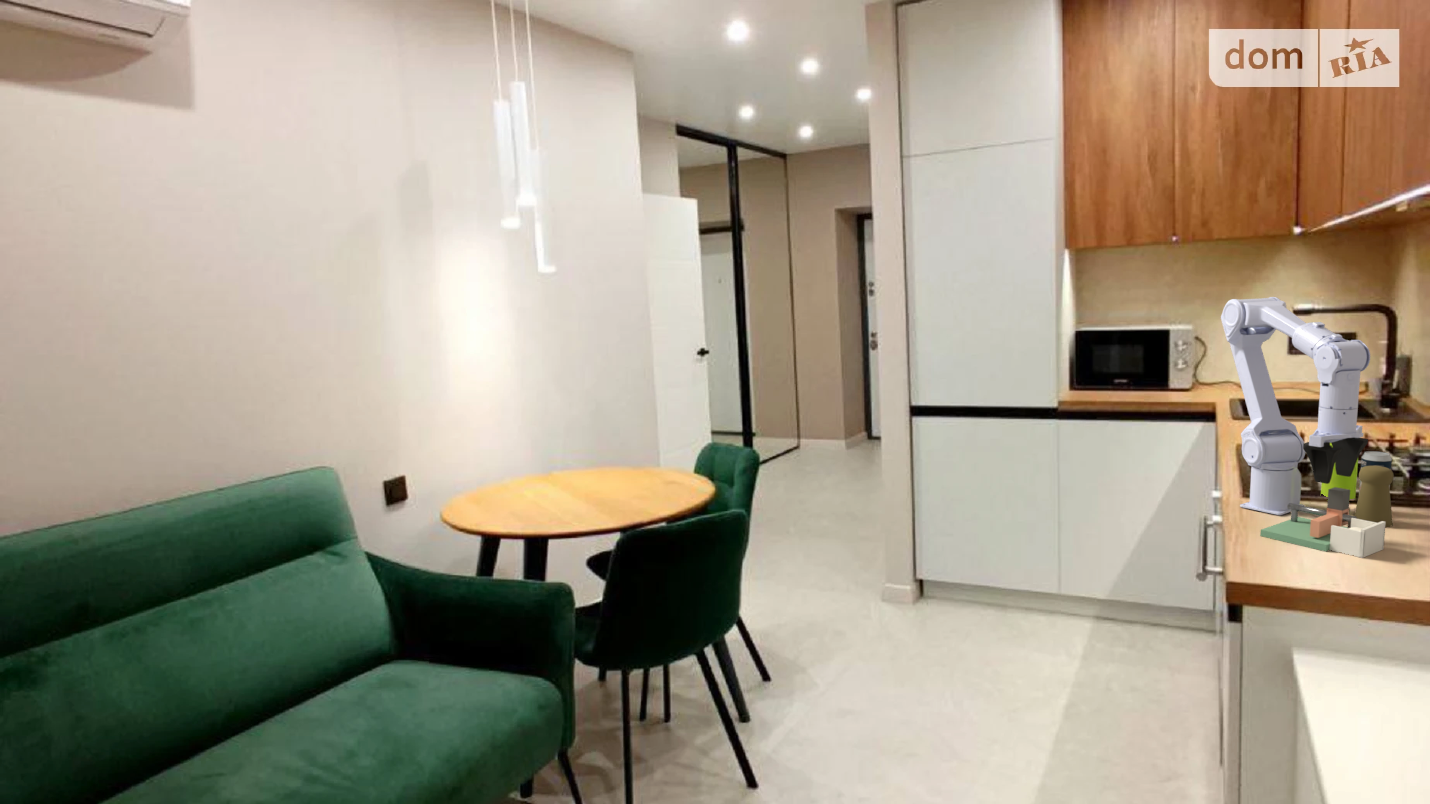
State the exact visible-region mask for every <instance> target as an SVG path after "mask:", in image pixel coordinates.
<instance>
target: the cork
mask: <svg viewBox="0 0 1430 804" xmlns="http://www.w3.org/2000/svg"><path fill="white" fill-rule="evenodd" d="M1394 475H1395V474H1394V472H1393V471H1392V469H1391V470H1390V469H1389V468H1386V467H1382V466H1365V467H1362V469H1361V468H1360V470H1359V473H1358V478H1359V479H1358V480H1359V481H1360V480H1361V482H1362V485H1361V489H1360V493H1359V492H1358V498H1357V502H1356V506H1355V511H1354V514H1353V516H1356V517H1357V519H1361V520H1366V521H1371V522H1376V523H1379V522H1381V521H1384V522H1386V524H1385V528H1388V527H1392V526H1393V513H1392V512H1393V511H1392V503H1391V494H1390V493H1391V490H1390V489H1389V485H1390V486H1391V484H1392V483H1393V480H1394Z"/></svg>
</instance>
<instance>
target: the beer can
mask: <svg viewBox="0 0 1430 804" xmlns="http://www.w3.org/2000/svg"><path fill="white" fill-rule="evenodd" d="M1360 459H1361V460H1360V461H1361V462H1360V470H1361V469H1362V467H1365V466H1382V467H1386V468H1389V469H1390V470H1391V471H1392V461H1393V459H1392V456H1391V454H1390V453H1388V452H1382V451H1375V450H1374V451H1372V450H1370V451H1369V450H1368V451H1364V453H1363V454H1362V456H1361V458H1360ZM1361 485H1362V482H1361V480H1360V479H1359V485H1358V486H1359V488H1358V494H1359V493H1360V489H1361ZM1390 488H1391V484H1390V485H1389V489H1390Z"/></svg>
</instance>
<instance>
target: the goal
mask: <svg viewBox="0 0 1430 804" xmlns="http://www.w3.org/2000/svg"><path fill="white" fill-rule="evenodd" d="M1385 524H1386V522H1384V521H1381V522H1379V523H1376V522H1371V521H1366V520H1361V519H1356V518H1351V527H1359V528H1362V529H1361V531H1358V530H1353V529H1348V528H1344V527H1345V526H1344V527H1339V526H1334V525H1332V526H1331V536H1330V550H1329V551H1331V550H1332V552H1336V553H1339V552H1342V553H1341V554H1344V553H1345V554H1344V555H1348V554H1349V556H1352V555H1354V556H1353V557H1357V558H1362V559H1363V558H1365V557H1368V556H1370V555H1373V554H1375V553H1378V552H1380V551H1382V550H1384V549H1385V548H1384V547H1385V535H1386V527H1385Z"/></svg>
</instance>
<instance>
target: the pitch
mask: <svg viewBox="0 0 1430 804" xmlns="http://www.w3.org/2000/svg"><path fill="white" fill-rule="evenodd" d="M1311 520H1312V519H1310V518H1305V517H1300V516H1298V520H1297V522H1292V521H1291V518H1290V519H1288V520H1284V521H1281V522H1279V523H1276V524H1272V525H1270V526H1267V527H1264V528H1262V529H1260V537H1264V538H1268V539H1273V540H1277V541H1280V542H1285V543H1290V544H1291V545H1292V544H1293V545H1297V546H1302V547H1305V548H1310V549H1314V550H1317V549H1318V551H1322V552H1328V550H1329V551H1331V550H1330V536H1331V533H1330V534H1328V535H1325V536H1322V537H1320V538H1317V537H1312V536H1310V525H1311ZM1341 527H1344V528H1348V526H1345V525H1344V526H1341Z"/></svg>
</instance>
